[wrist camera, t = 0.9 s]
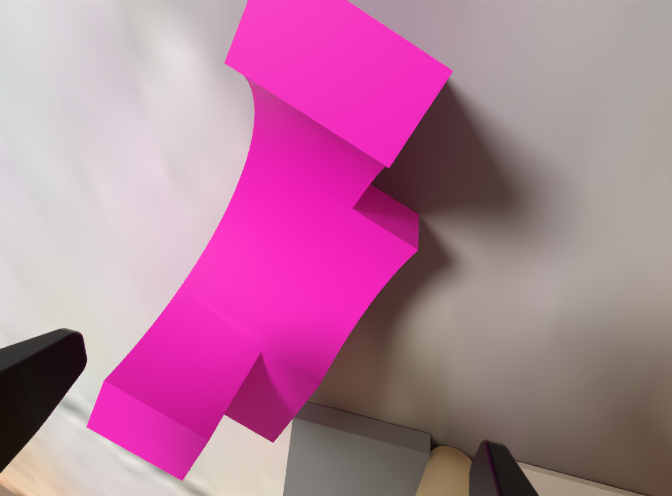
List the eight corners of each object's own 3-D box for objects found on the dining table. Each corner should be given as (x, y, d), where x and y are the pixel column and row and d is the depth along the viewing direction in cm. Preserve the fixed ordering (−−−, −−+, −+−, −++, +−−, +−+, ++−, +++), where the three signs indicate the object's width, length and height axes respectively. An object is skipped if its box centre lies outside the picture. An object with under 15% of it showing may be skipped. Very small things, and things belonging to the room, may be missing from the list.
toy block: (302, 369, 20) (244, 515, 14) (197, 306, 20) (86, 427, 13) (497, 108, 14) (570, 148, 7) (345, 7, 13) (268, -52, 7)
